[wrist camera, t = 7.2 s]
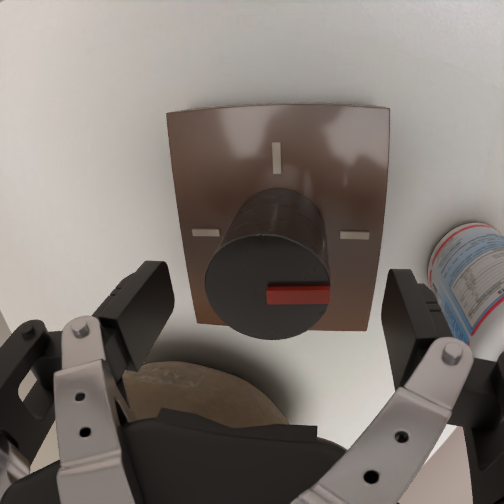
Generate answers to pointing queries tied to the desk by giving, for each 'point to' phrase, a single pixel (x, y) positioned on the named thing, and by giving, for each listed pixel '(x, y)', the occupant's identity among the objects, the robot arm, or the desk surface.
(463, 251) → the pill bottle
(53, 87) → the desk surface
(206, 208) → the panel
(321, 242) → the knob
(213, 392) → the bowl
